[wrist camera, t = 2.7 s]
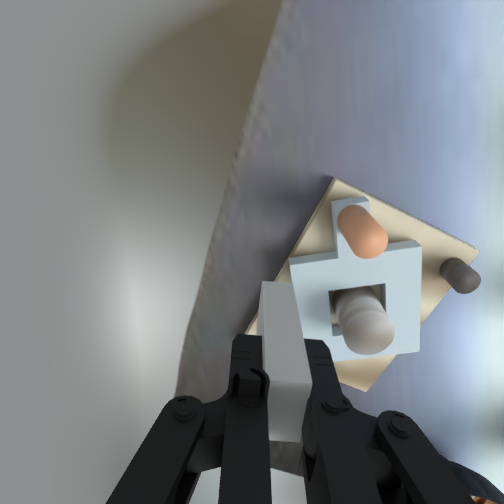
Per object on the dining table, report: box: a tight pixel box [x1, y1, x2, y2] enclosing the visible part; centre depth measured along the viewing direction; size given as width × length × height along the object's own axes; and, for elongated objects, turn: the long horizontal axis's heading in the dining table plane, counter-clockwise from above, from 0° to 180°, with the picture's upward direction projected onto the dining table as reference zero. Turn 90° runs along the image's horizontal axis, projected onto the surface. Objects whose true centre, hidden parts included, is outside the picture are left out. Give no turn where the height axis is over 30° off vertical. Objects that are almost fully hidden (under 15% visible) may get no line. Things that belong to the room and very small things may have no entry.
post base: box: [244, 177, 481, 392], centre depth 35 cm, size 20×16×7 cm
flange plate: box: [288, 196, 422, 362], centre depth 33 cm, size 17×12×7 cm
